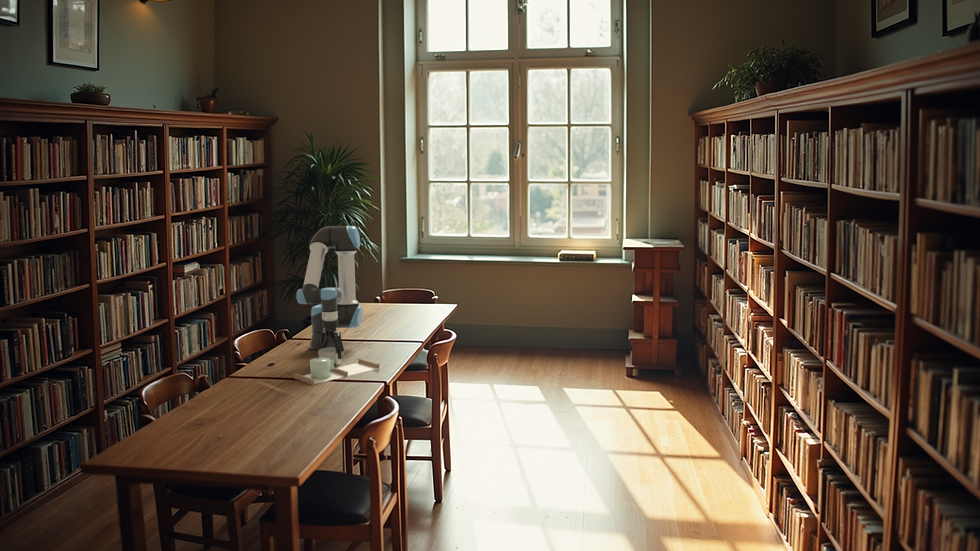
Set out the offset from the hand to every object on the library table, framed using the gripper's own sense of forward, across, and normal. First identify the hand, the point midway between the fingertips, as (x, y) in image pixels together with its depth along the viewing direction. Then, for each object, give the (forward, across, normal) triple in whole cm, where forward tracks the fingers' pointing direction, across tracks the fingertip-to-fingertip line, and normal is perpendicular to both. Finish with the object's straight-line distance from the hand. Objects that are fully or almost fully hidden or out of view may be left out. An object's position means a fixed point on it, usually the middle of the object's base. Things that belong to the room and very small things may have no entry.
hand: (332, 363), depth 413 cm
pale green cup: (-1, +18, -17) cm, 25 cm away
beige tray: (+1, +18, -9) cm, 20 cm away
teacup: (+1, 0, 0) cm, 1 cm away
